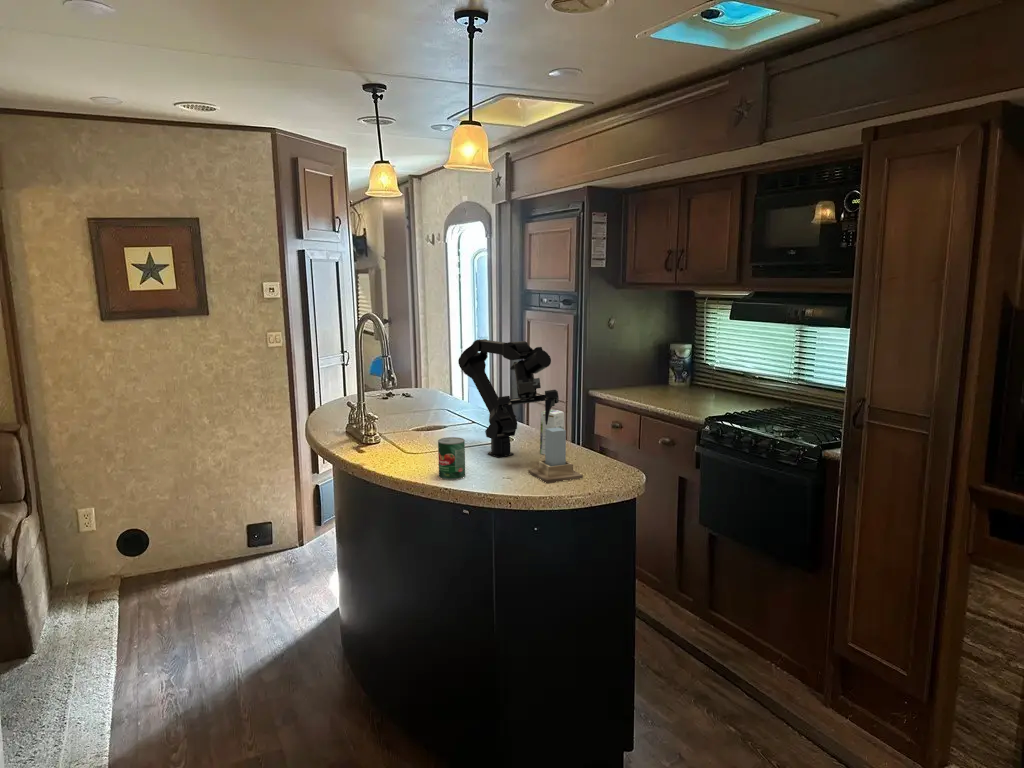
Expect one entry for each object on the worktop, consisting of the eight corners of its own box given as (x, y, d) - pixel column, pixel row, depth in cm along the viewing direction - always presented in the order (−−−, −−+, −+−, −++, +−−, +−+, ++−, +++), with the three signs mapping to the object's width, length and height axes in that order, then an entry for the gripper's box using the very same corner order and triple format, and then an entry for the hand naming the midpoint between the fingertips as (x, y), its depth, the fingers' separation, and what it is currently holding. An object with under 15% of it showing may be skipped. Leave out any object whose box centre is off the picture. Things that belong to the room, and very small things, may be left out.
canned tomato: (468, 473, 206) (468, 438, 204) (460, 481, 198) (459, 443, 196) (444, 472, 208) (443, 436, 206) (434, 479, 200) (433, 442, 198)
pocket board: (528, 472, 206) (528, 460, 206) (563, 468, 211) (563, 455, 211) (546, 483, 195) (546, 469, 195) (582, 478, 200) (583, 465, 200)
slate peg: (545, 471, 204) (545, 428, 202) (558, 469, 206) (558, 427, 204) (552, 475, 200) (552, 431, 198) (565, 473, 202) (565, 430, 200)
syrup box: (549, 450, 233) (550, 409, 231) (564, 453, 230) (564, 411, 227) (539, 454, 229) (539, 411, 227) (554, 456, 225) (554, 413, 223)
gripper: (493, 373, 206) (499, 422, 201) (554, 365, 206) (562, 414, 201) (496, 386, 217) (501, 433, 211) (554, 378, 217) (561, 425, 211)
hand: (531, 426), depth 208 cm, fingers open, 9 cm apart
